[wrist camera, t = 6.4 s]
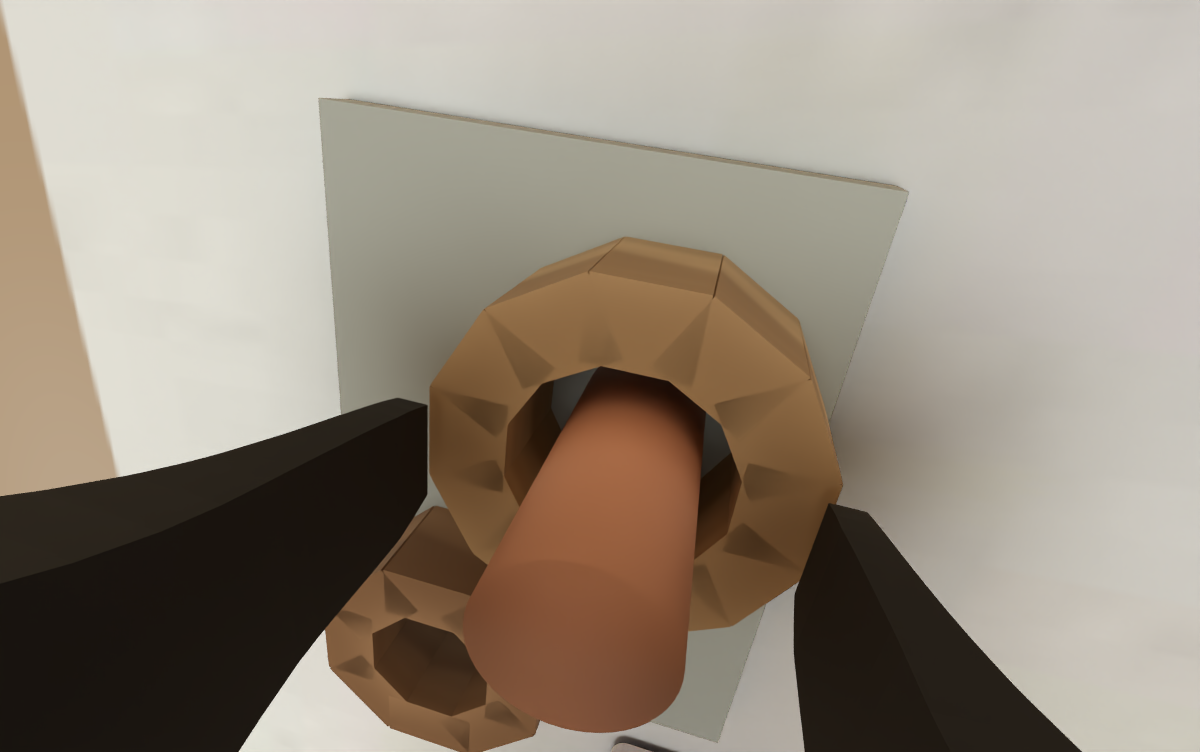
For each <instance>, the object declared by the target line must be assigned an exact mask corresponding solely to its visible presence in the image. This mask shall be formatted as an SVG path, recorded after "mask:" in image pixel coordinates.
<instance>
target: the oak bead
mask: <svg viewBox="0 0 1200 752" xmlns="http://www.w3.org/2000/svg"><path fill="white" fill-rule="evenodd" d="M722 255H723V254H719V253H713V252H708V251H702V250H697V249H692V248H686V247H681V246H675V245H670V244H664V243H659V242H654V241H648V240H643V239H637V238H632V237H622V238H619V239H617V240H614V241H611V242H609V243H606V244H603V245H601V246H598V247H595V248H593V249H590V250H587V251H585V252H582V253H579V254H577V255H574V256H571V257H569V258H566V259H563V260H561V261H558V262H555V263H553V264H550V265H547V266H545V267H542V268H540V269H539V270H537V271H536V272H534V273H533V274H532V275H530V276H529V277H528V278H526V279H525V280H523V281H522V282H521V283H519V284H518V285H516V286H515V287H514V288H512V289H511V290H510V291H508V292H507V293H505V294H504V295H503V296H501V297H500V298H498V299H497V300H496V301H494V302H493V303H491V304H490V305H489V306H487V307H486V308H485V309H483V310H482V312H481V313H480V315H479V316H478V318H477V319H476V320H475V322H474V323H473V325H472V326H471V328H470V329H469V330H468V332H467V333H466V335H465V336H464V338H463V339H462V340H461V342H460V343H459V345H458V346H457V347H456V349H455V350H454V352H453V353H452V355H451V356H450V357H449V359H448V360H447V362H446V363H445V365H444V366H443V367H442V369H441V370H440V372H439V373H438V375H437V376H436V377H435V379H434V380H433V382H432V383H431V385H430V387H429V474H430V477H431V478H432V480H433V482H434V484H435V486H436V488H437V489H438V491H439V493H440V495H441V497H442V498H443V500H444V502H445V504H446V506H447V508H448V509H449V511H450V513H451V515H452V517H453V518H454V520H455V522H456V524H457V526H458V528H459V529H460V531H461V533H462V535H463V537H464V539H465V540H466V542H467V544H468V546H469V548H470V549H471V551H472V552H474V553H473V554H474V555H476V556H477V557H478V558H479V559H481V560H482V561H483V562H485V563H486V564H487V565H488V564H489V562H490V560H491V558H492V556H493V555H494V553H495V551H496V549H497V547H498V546H499V544H500V542H501V540H502V538H503V537H504V535H505V533H506V531H507V529H508V527H509V526H510V524H511V522H512V520H513V518H514V517H515V515H516V513H517V511H518V509H519V508H520V506H521V504H522V502H523V500H524V498H525V497H526V495H527V493H528V491H529V489H530V488H531V486H532V484H533V482H534V480H535V478H536V477H537V475H538V473H539V471H540V469H541V468H542V466H543V464H544V462H545V460H546V459H547V457H548V455H549V453H550V451H551V449H552V448H553V446H554V444H555V442H556V440H557V439H558V437H559V435H560V433H561V429H560V427H559V424H558V422H557V420H556V418H555V416H554V413H553V411H552V409H551V404H552V395H553V385H554V380H556V379H559V378H562V377H566V376H569V375H573V374H576V373H579V372H583V371H586V370H590V369H593V368H596V367H600V366H603V367H608V368H612V369H617V370H621V371H626V372H630V373H635V374H639V375H644V376H648V377H653V378H657V379H662V380H667V381H669V382H671V383H672V384H673V385H674V386H675V387H677V388H678V389H679V390H680V391H681V392H683V393H684V394H685V395H686V396H687V397H689V398H690V399H691V400H692V401H693V402H695V403H696V404H697V405H698V406H699V407H701V408H702V409H703V410H704V411H705V412H707V413H708V414H709V415H710V416H711V417H713V418H714V419H715V420H716V421H717V422H719V423H720V424H721V425H722V428H723V431H724V433H725V436H726V439H727V442H728V444H729V447H730V450H731V453H730V454H729V455H728V456H727V457H725V458H724V459H723V460H722V461H721V462H720V463H718V464H717V465H716V466H715V467H714V468H713V469H712V470H710V471H709V472H708V473H707V474H706V475H705V476H704V477H702V478H701V480H700V492H699V504H698V516H697V529H696V541H695V553H694V566H693V578H692V590H691V603H690V615H689V627H688V632H689V631H698V630H707V629H717V628H726V627H731V626H734V625H735V624H737V623H738V622H740V621H741V620H743V619H744V618H746V617H747V616H749V615H750V614H752V613H753V612H754V611H756V610H757V609H759V608H760V607H762V606H763V605H765V604H766V603H768V602H769V601H771V600H772V599H774V598H775V597H777V596H778V595H780V594H781V593H783V592H784V591H786V590H787V589H789V588H790V587H792V586H793V585H794V584H796V583H797V582H799V581H800V578H801V576H802V573H803V570H804V568H805V565H806V562H807V560H808V557H809V554H810V552H811V549H812V546H813V544H814V541H815V538H816V536H817V533H818V530H819V528H820V525H821V522H822V519H823V517H824V514H825V511H826V509H827V506H828V503H831V504H835V505H836V502H837V500H838V497H839V494H840V492H841V489H842V487H843V482H842V478H841V474H840V469H839V465H838V461H837V457H836V452H835V448H834V444H833V440H832V436H831V431H830V427H829V423H828V419H827V414H826V410H825V406H824V402H823V399H822V396H821V392H820V389H819V385H818V382H817V379H816V375H815V372H814V369H813V365H812V362H811V359H810V355H809V352H808V348H807V345H806V342H805V338H804V335H803V332H802V328H801V325H800V321H799V320H798V318H797V317H796V316H794V315H793V314H792V313H791V312H790V311H789V310H787V309H786V308H785V307H784V306H783V305H782V304H780V303H779V302H778V301H777V300H776V299H775V298H774V297H772V296H771V295H770V294H769V293H768V292H767V291H765V290H764V289H763V288H762V287H761V286H760V285H758V284H757V283H756V282H755V281H754V280H753V279H752V278H750V277H749V276H748V275H747V274H746V273H745V272H743V271H742V270H741V269H740V268H739V267H738V266H736V265H735V264H734V263H733V262H732V261H731V260H730V259H728V258H727V257H726V256H725V255H724V256H723V257H722Z"/></svg>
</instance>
